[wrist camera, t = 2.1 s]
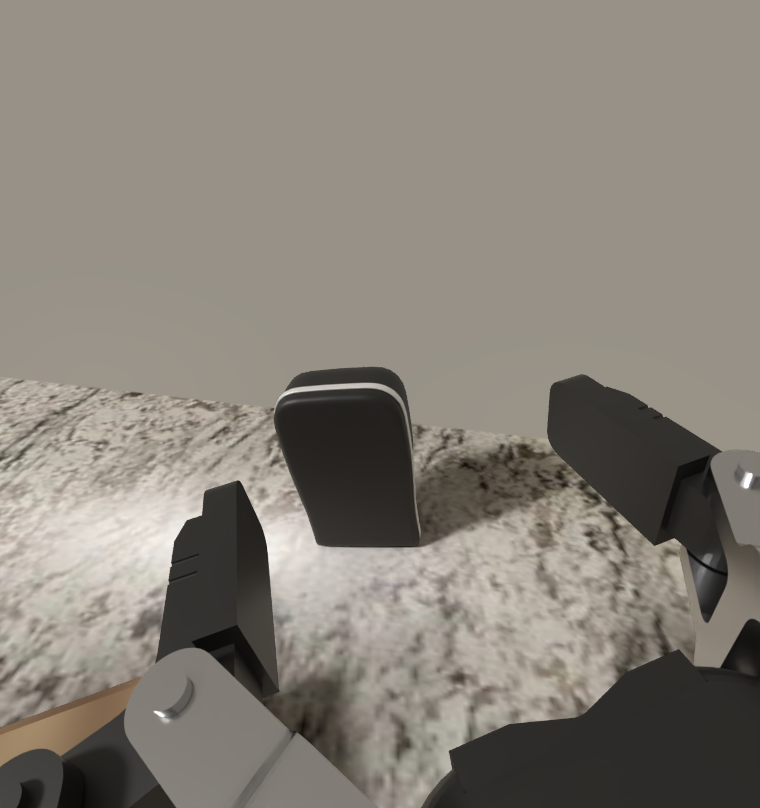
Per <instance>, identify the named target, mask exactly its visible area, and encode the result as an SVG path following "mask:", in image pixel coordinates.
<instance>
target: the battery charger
mask: <svg viewBox="0 0 760 808" xmlns="http://www.w3.org/2000/svg"><path fill="white" fill-rule="evenodd" d="M274 424H275V429H276V433H277V436H278V439H279V442H280V445H281V449H282V452H283V455H284V458H285V460H286V463H287V466H288V469H289V471H290V474H291V476H292V479H293V481H294V484H295V486H296V489H297V491H298V493H299V496H300V498H301V501H302V503H303V505H304V507H305V510H306V512H307V515H308V518H309V521H310V524H311V526H312V530H313V533H314V536H315V540H316V543H317V544H318V545H324V546H415V545H417V544H418V543H419V538H420V537H421V528H420V520H419V514H418V508H417V502H416V489H415V472H414V458H413V435H412V426H411V419H410V412H409V407H408V400H407V395H406V391H405V388H404V385H403V383H402V381H401V380H400V378H399V377H398V376H397V375H396V374H395V373H393V372H392V371H391V370H389V369H385V368H382V367H361V368H340V369H329V370H319V371H310V372H305V373H301V374H299V375H298V376H296V377H295V378H294V379H293V380H292V381H291V382H290V384H289V385H288V387H287V388H286V390H285V392H284V393H283V394H282V395H281V396H280V398H279V399H278V401H277V403H276V406H275V411H274Z"/></svg>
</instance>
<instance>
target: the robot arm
mask: <svg viewBox="0 0 760 808" xmlns="http://www.w3.org/2000/svg"><path fill="white" fill-rule="evenodd" d="M547 433H548V439H549V442H550V444H551V446H552V448H553V449H554V451H555V452H556V453H557V454H558V455H559V456H560V457H561V458H562V459H563V460H564V461H565V462H566V463H567V464H568V465H569V466H571V467H572V468H573V469H574V470H575V471H576V472H577V473H578V474H579V475H580V476H581V477H582V478H583V479H584V480H585V481H586V482H587V483H588V484H590V485H591V486H592V487H593V488H594V489H595V490H596V491H597V492H598V493H599V494H600V495H601V496H602V497H603V498H604V499H605V500H606V501H607V502H609V503H610V504H611V505H612V506H613V507H614V508H615V509H616V510H617V511H618V512H619V513H620V514H621V515H622V516H623V517H624V518H625V519H627V520H628V521H629V522H630V523H631V524H632V525H633V526H634V527H635V528H636V529H637V530H638V531H639V532H640V533H641V534H642V535H643V536H644V537H646V538H647V539H648V540H649V541H650V542H651V543H652V544H653V545H654V546H655V545H658V544H661V543H663V542H666V541H668V540H671V539H673V538H675V539H676V540H678V541H679V542H680V543H681V544H682V545H681V548H680V552H679V554H680V561H681V565H682V570H683V575H684V580H685V584H686V589H687V594H688V599H689V603H690V608H691V613H692V618H693V622H694V627H695V634H696V646H695V654H694V666H693V665H692V664H691V662H690V661H689V660H688V659H687V658H686V657H685V656H684V654H683V653H682V652H681V651H680V650H679V649H678V650H676V651H674V652H671V653H669V654H667V655H665V656H662V657H660V658H658V659H656V660H653V661H651V662H649V663H647V664H644V665H642V666H640V667H638V668H635V669H633V670H631V671H629V672H626V673H625V674H624V675H623V676H622V677H621V678H620V679H619V680H618V681H617V682H616V683H615V684H614V685H613V686H612V687H611V688H610V689H609V690H608V691H607V692H606V693H605V694H604V695H603V696H602V697H601V698H600V699H599V700H598V701H597V702H596V703H595V704H594V705H593V706H592V707H591V708H590V709H589V710H588V711H587V712H586V713H585V714H583V715H582V716H579V717H576V718H568V719H557V720H547V721H537V722H527V723H516V724H509V725H506V726H504V727H502V728H500V729H497V730H495V731H493V732H491V733H488V734H486V735H484V736H482V737H479V738H477V739H475V740H473V741H470V742H468V743H466V744H463V745H461V746H459V747H457V748H454V749H452V750H450V751H449V754H450V760H451V765H452V770H451V771H450V772H449V773H448V774H447V775H446V776H445V777H444V778H443V779H442V780H440V782H439V783H438V784H437V785H436V787H435V788H434V789H433V791H432V792H431V793H430V794H429V796H428V797H427V799H426V801H425V802H424V804H423V806H422V807H421V808H760V453H758V452H754V451H748V450H729V451H724V452H722V451H720V450H719V449H717V448H715V447H714V446H712V445H711V444H709V443H707V442H706V441H704V440H703V439H701V438H699V437H698V436H696V435H695V434H693V433H691V432H690V431H688V430H686V429H685V428H683V427H682V426H680V425H679V424H677V423H675V422H673V421H672V420H670V419H669V418H667V417H663V416H662V414H661V413H659V412H657V411H656V410H654V409H653V408H648V406H647V405H646V404H645V403H643V402H641V401H640V400H638V399H637V398H635V397H634V396H632V395H630V394H628V393H625V392H622V391H619V390H616V389H612V388H609V387H604V386H602V385H601V384H599V383H598V382H596V381H595V380H593V379H592V378H590V377H588V376H586V375H578V376H575V377H571V378H568V379H565V380H562V381H558V382H555V383H554V384H553V385H552V386H551V389H550V399H549V412H548V427H547ZM171 563H172V567H170V574H169V585H168V587H167V594H166V600H165V607H164V614H163V620H162V627H161V634H160V640H159V647H158V653H157V658H156V662H155V665H153V666H152V667H151V668H150V669H149V670H148V671H147V672H146V673H145V675H144V676H143V677H142V678H141V680H140V681H139V682H138V684H137V685H136V687H135V689H134V690H133V692H132V694H131V696H130V699H129V701H128V704H127V707H126V708H125V709H124V710H123V711H122V712H121V713H120V714H119V715H118V716H116V717H115V718H114V719H112V720H111V721H110V722H108V723H107V724H106V725H104V726H103V727H101V728H100V729H99V730H97V731H96V732H94V733H93V734H91V735H90V736H89V737H87V738H86V739H84V740H83V741H82V742H80V743H79V744H77V745H76V746H74V747H73V748H72V749H70V750H69V751H67V752H66V753H65V754H63V755H62V756H60V755H58V754H56V753H55V752H53V751H51V750H48V749H34V750H30V751H27V752H24V753H22V754H20V755H18V756H16V757H14V758H12V759H11V760H9V761H8V762H6V763H5V764H3V765H2V766H1V767H0V808H378V807H377V806H376V805H375V804H374V803H373V802H372V801H371V800H370V799H369V798H367V797H366V796H365V795H364V794H363V793H362V792H361V791H360V790H359V789H358V788H357V787H356V786H355V785H354V784H353V783H352V782H351V781H349V780H348V779H347V778H346V777H345V776H344V775H343V774H342V773H341V772H340V771H339V770H338V769H337V768H336V767H335V766H334V765H333V764H332V763H330V762H329V761H328V760H327V759H326V758H325V757H324V756H323V755H322V754H321V753H320V752H319V751H318V750H317V749H316V748H315V747H314V746H312V745H311V744H310V743H309V742H308V741H307V740H306V739H305V738H303V737H302V736H301V735H300V734H298V733H297V732H296V731H291V730H289V729H288V728H287V727H286V726H285V725H283V724H282V723H281V722H280V721H279V720H278V719H277V718H276V717H275V716H274V715H273V714H272V713H271V712H270V711H269V710H268V709H267V708H266V707H265V706H264V705H263V698H264V697H267V696H269V695H272V694H274V693H277V692H279V684H278V672H277V660H276V648H275V636H274V624H273V612H272V600H271V588H270V576H269V564H268V552H267V545H266V540H265V536H264V532H263V529H262V527H261V524H260V522H259V520H258V518H257V515H256V513H255V511H254V509H253V507H252V505H251V502H250V500H249V498H248V496H247V494H246V492H245V490H244V487H243V485H242V484H241V482H240V481H234V482H231V483H228V484H225V485H222V486H218V487H215V488H212V489H209V490H206V491H205V493H204V500H203V511H202V516H199V517H196V518H193V519H190V520H187V521H186V523H185V524H184V526H183V528H182V529H181V531H180V533H179V535H178V536H177V538H176V540H175V541H174V547H173V554H172V561H171Z"/></svg>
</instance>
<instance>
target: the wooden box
mask: <svg viewBox="0 0 760 808" xmlns="http://www.w3.org/2000/svg"><path fill="white" fill-rule="evenodd" d="M142 677H143V676H142ZM142 677H140V678H137V679H134V680H131V681H128V682H126V683H123V684H120V685H117V686H115V687H112V688H109V689H106V690H104V691H101V692H98V693H95V694H92V695H90V696H87V697H84V698H81V699H79V700H76V701H73V702H70V703H68V704H65V705H62V706H59V707H57V708H54V709H51V710H48V711H45V712H43V713H40V714H37V715H34V716H32V717H29V718H26V719H23V720H21V721H18V722H15V723H12V724H10V725H7V726H4V727H1V728H0V767H1V766H2V765H3V764H5V763H6V762H8V761H9V760H11V759H12V758H14V757H16V756H18V755H20V754H22V753H24V752H27V751H30V750H34V749H48V750H51V751H53V752H55V753H56V754H58V755H60V756H62V755H63V754H65V753H66V752H67V751H69V750H70V749H72V748H73V747H74V746H76V745H77V744H79V743H80V742H82V741H83V740H84V739H86V738H87V737H89V736H90V735H91V734H93V733H94V732H96V731H97V730H99V729H100V728H101V727H103V726H104V725H106V724H107V723H108V722H110V721H111V720H112V719H114V718H115V717H116V716H118V715H119V714H120V713H121V712H122V711H123V710H124V709H125V708H126V707H127V704H128V701H129V699H130V696H131V694H132V692H133V690H134V689H135V687H136V685H137V684H138V682H139V681H140V680H141V678H142Z"/></svg>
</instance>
